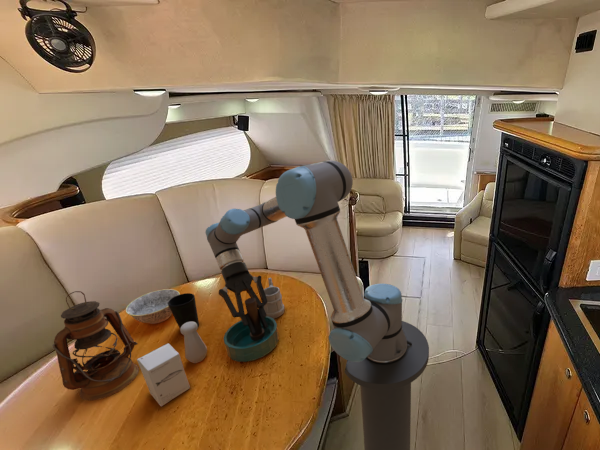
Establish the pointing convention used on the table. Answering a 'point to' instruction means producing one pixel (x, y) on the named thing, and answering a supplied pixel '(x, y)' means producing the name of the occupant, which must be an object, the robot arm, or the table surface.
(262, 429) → the table surface
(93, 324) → the lantern
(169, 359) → the white packaging box
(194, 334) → the salt shaker
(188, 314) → the cup
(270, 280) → the mug
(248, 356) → the teal bowl
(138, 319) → the bowl
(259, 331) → the walnut stirrer
